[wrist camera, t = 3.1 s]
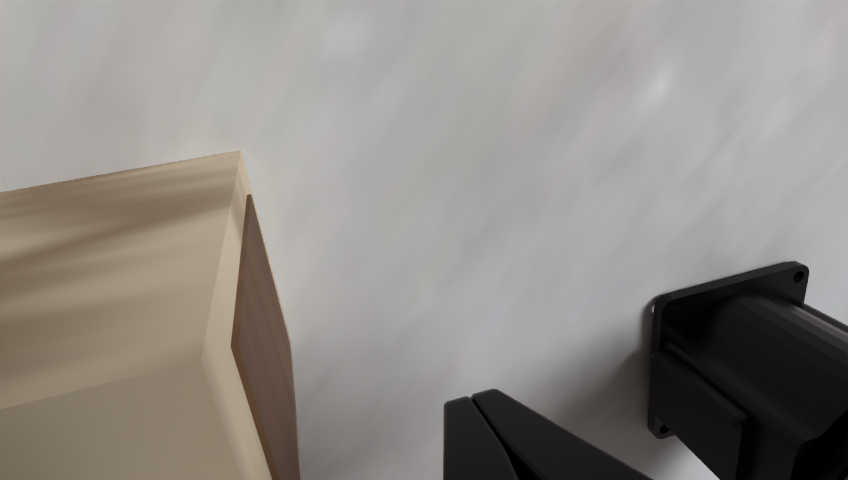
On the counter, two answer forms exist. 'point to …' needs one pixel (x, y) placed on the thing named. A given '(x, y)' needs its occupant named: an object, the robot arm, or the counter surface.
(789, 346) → the robot arm
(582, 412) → the counter surface
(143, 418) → the birch block
